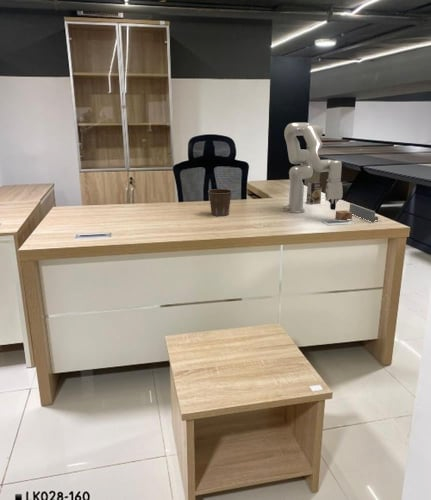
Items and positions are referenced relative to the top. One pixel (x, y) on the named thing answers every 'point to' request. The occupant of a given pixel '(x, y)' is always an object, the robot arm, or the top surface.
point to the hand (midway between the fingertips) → (332, 209)
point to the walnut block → (343, 215)
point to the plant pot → (220, 201)
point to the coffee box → (314, 193)
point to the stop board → (363, 212)
